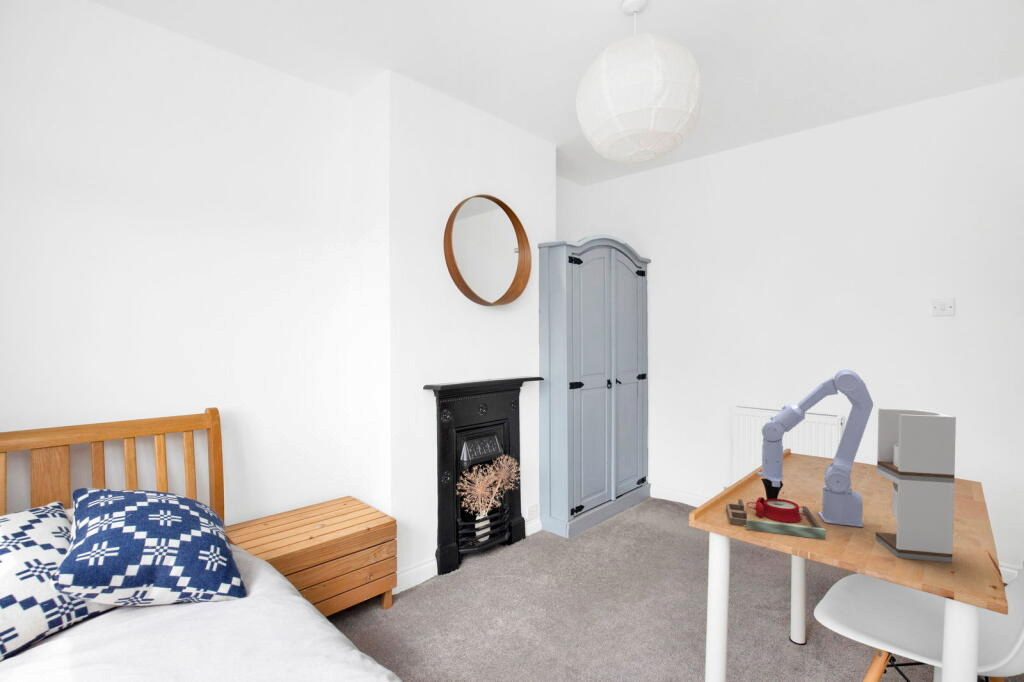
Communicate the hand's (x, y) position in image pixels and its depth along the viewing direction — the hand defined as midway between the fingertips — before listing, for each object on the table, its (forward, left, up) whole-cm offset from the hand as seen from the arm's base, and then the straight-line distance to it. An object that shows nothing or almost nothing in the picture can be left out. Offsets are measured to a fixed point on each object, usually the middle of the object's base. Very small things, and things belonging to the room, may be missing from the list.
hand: (771, 503), depth 153 cm
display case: (-28, +21, -2) cm, 36 cm away
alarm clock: (0, +6, -2) cm, 7 cm away
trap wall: (0, +10, -2) cm, 10 cm away
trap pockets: (+12, +12, -2) cm, 17 cm away
